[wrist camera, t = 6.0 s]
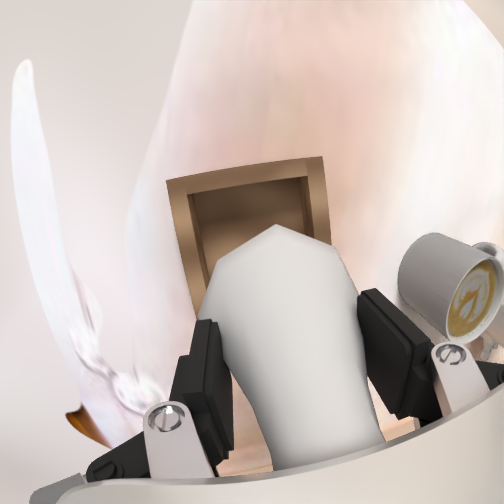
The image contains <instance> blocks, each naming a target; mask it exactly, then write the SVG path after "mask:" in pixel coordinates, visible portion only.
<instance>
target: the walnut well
mask: <svg viewBox="0 0 504 504" xmlns="http://www.w3.org/2000/svg"><path fill="white" fill-rule="evenodd" d="M166 184H167V189H168V195H169V200H170V205H171V210H172V215H173V220H174V225H175V230H176V235H177V240H178V244H179V249H180V253H181V258H182V262H183V266H184V271H185V275H186V279H187V283H188V287H189V291H190V295H191V299H192V303H193V307H194V311H195V315H196V319H197V320H199V319H198V317H197V316H198V313H199V310H200V308H201V305H202V302H203V299H204V296H205V293H206V291H207V288H208V285H209V282H210V279H211V277H212V274H213V271H214V268H215V266H216V263H217V260H219V259H220V258H222V257H223V256H225V255H227V254H228V253H230V252H231V251H233V250H235V249H236V248H238V247H239V246H241V245H243V244H244V243H246V242H247V241H249V240H251V239H252V238H254V237H255V236H257V235H259V234H260V233H262V232H264V231H265V230H267V229H268V228H270V227H272V226H273V225H275V224H277V225H280V226H282V227H285V228H288V229H290V230H293V231H295V232H298V233H301V234H303V235H306V236H308V237H311V238H313V239H316V240H318V241H321V242H323V243H326V244H328V245H331V246H332V244H331V231H330V220H329V209H328V200H327V191H326V182H325V174H324V166H323V158H322V156H320V157H310V158H300V159H291V160H283V161H275V162H268V163H260V164H253V165H247V166H240V167H234V168H228V169H222V170H216V171H210V172H205V173H199V174H194V175H189V176H184V177H179V178H174V179H170V180H166Z"/></svg>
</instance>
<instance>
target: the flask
mask: <svg viewBox="0 0 504 504" xmlns="http://www.w3.org/2000/svg"><path fill="white" fill-rule="evenodd" d="M357 296H359V294H358V292H357V289H356V287H355V285H354V283H353V281H352V279H351V277H350V275H349V273H348V271H347V269H346V267H345V265H344V263H343V261H342V259H341V257H340V255H339V254H338V252H337V250H336V248H335V247H333V246H331V245H328V244H326V243H323V242H321V241H318V240H316V239H313V238H311V237H308V236H306V235H303V234H301V233H298V232H295V231H293V230H290V229H288V228H285V227H282V226H280V225H277V224H275V225H273V226H272V227H270V228H268V229H267V230H265V231H264V232H262V233H260V234H259V235H257V236H255V237H254V238H252V239H251V240H249V241H247V242H246V243H244V244H243V245H241V246H239V247H238V248H236V249H235V250H233V251H231V252H230V253H228V254H227V255H225V256H223V257H222V258H220V259H219V260H217V263H216V266H215V268H214V271H213V274H212V277H211V279H210V282H209V285H208V288H207V291H206V293H205V296H204V299H203V302H202V305H201V308H200V310H199V313H198V316H197V317H198V319H199V320H204V319H212V322H218V325H219V329H220V334H221V340H222V349H223V359H224V361H225V363H226V364H227V366H228V368H229V369H230V371H231V373H232V374H233V376H234V378H235V379H236V381H237V383H238V384H239V386H240V388H241V389H242V391H243V392H244V394H245V396H246V397H247V399H248V401H249V402H250V404H251V405H252V407H253V410H254V413H255V415H256V418H257V421H258V423H259V426H260V428H261V431H262V433H263V436H264V438H265V441H266V443H267V446H268V448H269V451H270V453H271V459H272V465H273V470H274V471H278V470H284V469H290V468H295V467H300V466H305V465H310V464H314V463H318V462H323V461H327V460H331V459H334V458H338V457H342V456H345V455H349V454H352V453H355V452H359V451H362V450H365V449H368V448H371V447H374V446H377V445H379V444H382V443H385V442H386V441H385V438H384V436H383V435H382V432H381V430H380V427H379V423H378V420H377V416H376V412H375V409H374V405H373V401H372V398H371V394H370V391H369V387H368V381H367V369H366V359H365V349H364V340H363V335H362V332H361V328H360V325H359V321H358V318H357Z"/></svg>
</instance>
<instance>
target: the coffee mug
mask: <svg viewBox="0 0 504 504" xmlns="http://www.w3.org/2000/svg"><path fill="white" fill-rule="evenodd" d="M398 288H399V292H400V295H401V297H402V298H403V300H404V301H405V302H406V303H407V304H408V305H410V306H411V307H412V308H413V309H414V310H415V311H417V312H418V313H419V314H420V315H421V316H422V317H423V318H425V319H426V320H427V321H428V322H429V323H430V324H431V325H433V326H434V327H435V328H436V329H437V330H438V331H439V332H440V333H441V334H443V335H444V336H445V337H446V338H447V339H448V340H449V341H452V342H458V343H460V344H462V345H464V344H467V343H469V342H472V341H473V340H475V339H476V338H477V337H479V336H480V335H481V334H482V333H483V332H484V331H485V330H486V329H487V328H488V326H489V325H490V324H491V322H492V321H493V319H494V317H495V316H496V314H497V312H498V310H499V307H500V305H501V302H502V299H503V296H504V251H503V250H502V249H501V248H500V247H499V246H497V245H495V244H492V243H487V242H482V243H477V244H475V245H473V246H472V247H471V246H469V245H467V244H464V243H462V242H459V241H457V240H455V239H452V238H450V237H447V236H445V235H442V234H439V233H429V234H426V235H424V236H422V237H420V238H419V239H417V240H416V241H415V242H414V243H413V244H412V245H411V246H410V248H409V249H408V250H407V252H406V254H405V255H404V257H403V260H402V262H401V265H400V268H399V272H398Z"/></svg>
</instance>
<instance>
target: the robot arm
mask: <svg viewBox="0 0 504 504" xmlns="http://www.w3.org/2000/svg"><path fill="white" fill-rule="evenodd" d="M357 318H358V321H359V325H360V328H361V332H362V335H363V340H364V349H365V359H366V369H367V376H368V377H369V379H370V381H371V382H372V384H373V386H374V387H375V389H376V391H377V392H378V394H379V396H380V397H381V399H382V401H383V402H384V404H385V406H386V408H387V409H388V411H389V412H390V414H395V415H396V417H397V419H398V420H400V419H403V418H406V417H408V416H410V417H413V421H414V426H415V431H413V432H410V433H408V434H406V435H403V436H401V437H398V438H396V439H393V440H391V441H388V442H385V443H382V444H379V445H377V446H374V447H371V448H368V449H365V450H362V451H359V452H355V453H352V454H349V455H345V456H342V457H338V458H334V459H331V460H327V461H323V462H318V463H314V464H310V465H305V466H300V467H295V468H290V469H284V470H278V471H272V472H265V473H258V474H250V475H240V476H228V477H220V474H219V472H218V470H217V467H216V466H217V465H218V464H219V463H221V462H222V461H223V460H225V459H229V451H232V450H234V432H233V394H232V378H231V373H230V370H229V368H228V366H227V364H226V363H225V361H224V359H223V349H222V340H221V334H220V329H219V325H218V322H212V319H204V320H197V321H196V324H195V329H194V334H193V339H192V344H191V348H190V353H189V355H184V356H180V357H179V359H178V364H177V368H176V372H175V376H174V380H173V385H172V389H171V393H170V398H169V401H167V402H162V403H159V404H156V405H155V406H153V407H151V408H150V409H149V410H148V411H147V412H146V414H145V415H144V417H143V429H144V431H142V432H141V433H139V434H138V435H136V436H134V437H133V438H131V439H130V440H128V441H126V442H125V443H123V444H121V445H120V446H118V447H116V448H115V449H113V450H111V451H109V452H108V453H106V454H104V455H102V456H101V457H99V458H97V459H96V460H94V461H93V462H92V463H91V464H90V465H89V467H88V469H87V472H86V474H85V475H82V474H81V473H78V474H76V475H73V476H71V477H68V478H66V479H63V480H61V481H59V482H56V483H53V484H51V485H48V486H45V487H43V488H40V489H38V490H36V491H34V493H33V494H32V495H31V497H30V501H29V503H30V504H504V364H497V363H490V362H482V361H475V360H474V358H473V357H472V355H471V353H470V351H469V350H468V349H467V347H465V346H464V345H462V344H460V343H458V342H452V341H446V342H442V343H439V344H437V345H434V344H433V343H432V342H431V341H430V339H429V338H428V337H427V336H426V335H425V334H424V333H423V332H422V331H421V330H420V329H419V328H418V327H417V326H416V325H415V324H414V323H413V322H412V321H411V320H410V319H409V318H408V317H406V316H405V315H404V314H403V313H402V312H401V311H400V310H399V309H398V308H397V307H396V306H395V305H394V304H393V303H391V302H390V301H389V300H388V299H387V298H386V297H385V296H384V295H383V294H382V293H381V292H379V291H378V290H377V289H376V288H373V289H369V290H365V291H362V292H361V295H359V296H357ZM477 338H483V344H484V345H483V347H482V350H481V354H480V359H482V360H488V358H489V355H490V352H491V348H493V349H497V347H498V344H499V345H501V346H502V347H503V348H504V296H503V299H502V302H501V305H500V307H499V310H498V312H497V314H496V316H495V317H494V319H493V321H492V322H491V324H490V325H489V326H488V328H487V329H486V330H485V331H484V332H483V333H482V334H481V335H480V336H479V337H477Z"/></svg>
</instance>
